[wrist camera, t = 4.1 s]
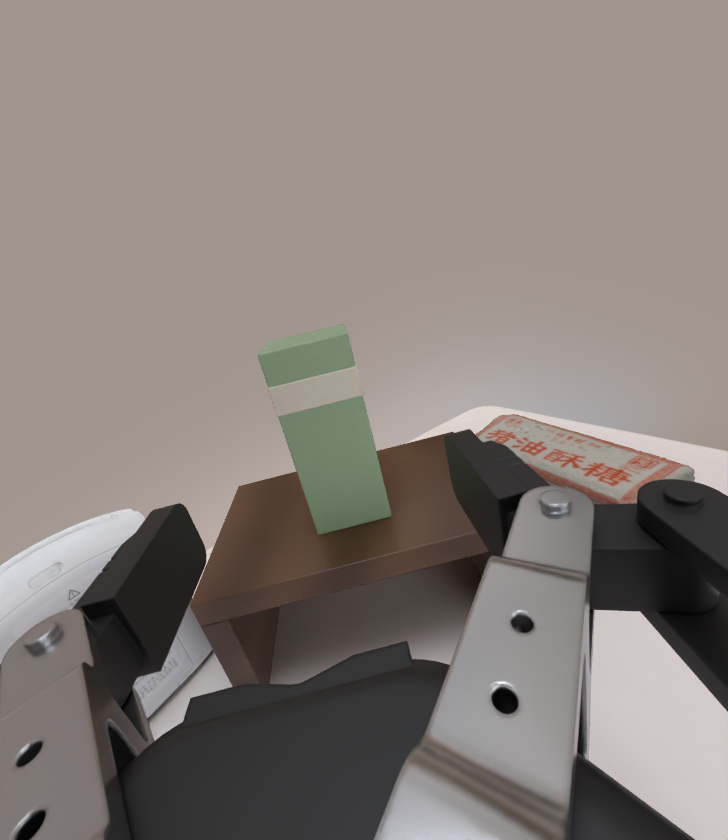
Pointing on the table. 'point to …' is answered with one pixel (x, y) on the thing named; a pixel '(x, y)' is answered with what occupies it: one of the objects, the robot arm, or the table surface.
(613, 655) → the table surface
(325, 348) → the box
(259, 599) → the shelf stand
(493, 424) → the packaged product
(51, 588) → the photo printer
